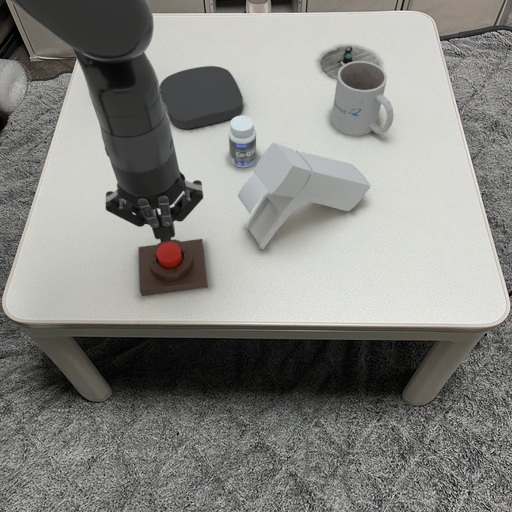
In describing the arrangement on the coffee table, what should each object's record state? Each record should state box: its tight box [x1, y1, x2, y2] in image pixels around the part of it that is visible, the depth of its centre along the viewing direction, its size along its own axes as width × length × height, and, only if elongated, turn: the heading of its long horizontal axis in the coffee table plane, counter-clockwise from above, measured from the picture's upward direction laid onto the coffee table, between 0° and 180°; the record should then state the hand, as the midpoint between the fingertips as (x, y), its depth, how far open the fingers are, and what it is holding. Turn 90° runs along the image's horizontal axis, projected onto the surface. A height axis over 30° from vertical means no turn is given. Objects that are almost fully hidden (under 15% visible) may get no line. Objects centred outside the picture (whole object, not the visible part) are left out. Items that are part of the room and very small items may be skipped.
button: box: [157, 242, 182, 268], centre depth 77 cm, size 4×4×2 cm
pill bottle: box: [228, 114, 257, 168], centre depth 90 cm, size 5×5×8 cm
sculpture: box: [319, 45, 381, 80], centre depth 109 cm, size 12×9×8 cm
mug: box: [331, 61, 394, 137], centre depth 94 cm, size 12×9×10 cm
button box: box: [138, 238, 209, 297], centre depth 79 cm, size 10×8×4 cm
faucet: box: [236, 141, 371, 250], centre depth 81 cm, size 6×16×20 cm
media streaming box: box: [159, 65, 244, 129], centre depth 101 cm, size 15×15×3 cm
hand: (165, 236), depth 73 cm, fingers closed
